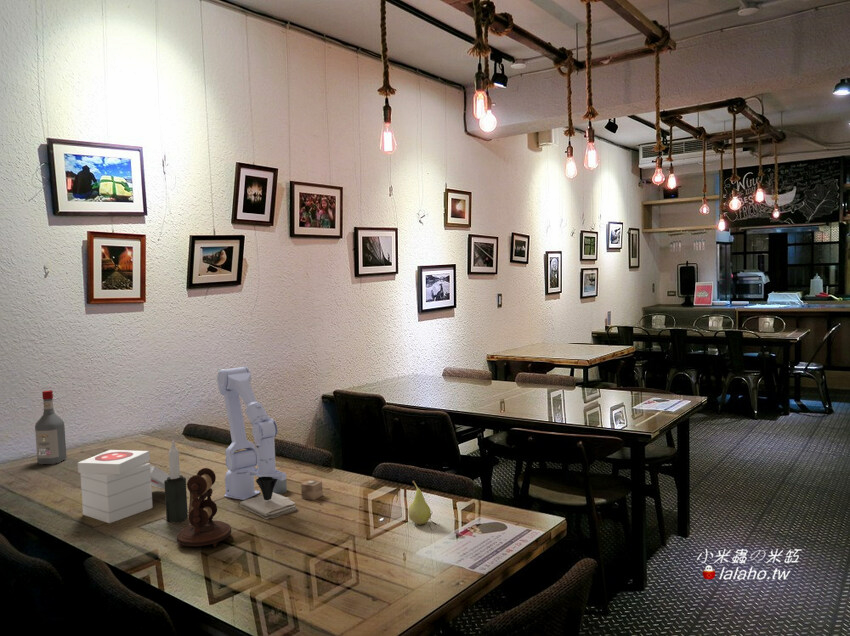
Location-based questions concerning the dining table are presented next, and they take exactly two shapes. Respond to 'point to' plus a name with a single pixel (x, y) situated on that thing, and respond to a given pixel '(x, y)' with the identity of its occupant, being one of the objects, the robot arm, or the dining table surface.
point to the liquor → (50, 434)
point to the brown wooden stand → (202, 513)
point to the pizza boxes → (118, 484)
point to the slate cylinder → (280, 487)
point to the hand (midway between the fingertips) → (267, 499)
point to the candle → (175, 490)
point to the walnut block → (311, 489)
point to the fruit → (419, 509)
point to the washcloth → (269, 506)
